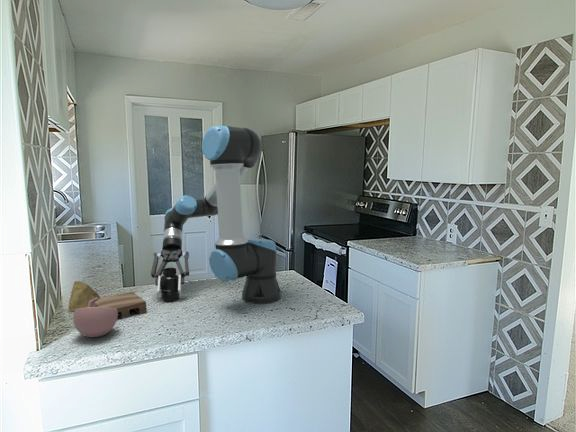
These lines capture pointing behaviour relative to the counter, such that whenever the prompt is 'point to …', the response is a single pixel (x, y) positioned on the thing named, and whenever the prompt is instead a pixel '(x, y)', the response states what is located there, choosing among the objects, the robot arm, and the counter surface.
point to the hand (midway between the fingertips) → (169, 292)
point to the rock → (81, 296)
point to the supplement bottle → (169, 285)
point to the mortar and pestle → (94, 319)
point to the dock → (123, 303)
